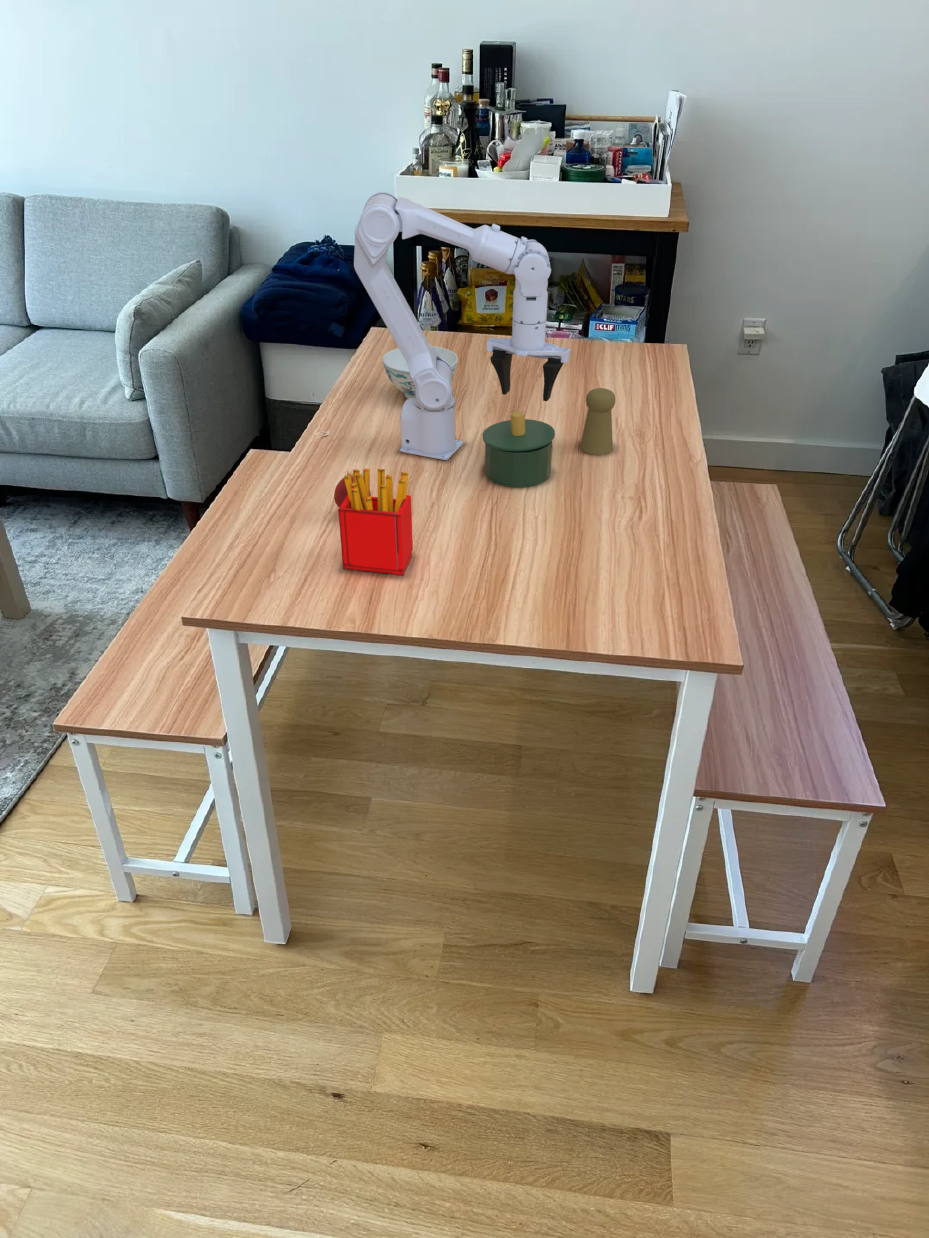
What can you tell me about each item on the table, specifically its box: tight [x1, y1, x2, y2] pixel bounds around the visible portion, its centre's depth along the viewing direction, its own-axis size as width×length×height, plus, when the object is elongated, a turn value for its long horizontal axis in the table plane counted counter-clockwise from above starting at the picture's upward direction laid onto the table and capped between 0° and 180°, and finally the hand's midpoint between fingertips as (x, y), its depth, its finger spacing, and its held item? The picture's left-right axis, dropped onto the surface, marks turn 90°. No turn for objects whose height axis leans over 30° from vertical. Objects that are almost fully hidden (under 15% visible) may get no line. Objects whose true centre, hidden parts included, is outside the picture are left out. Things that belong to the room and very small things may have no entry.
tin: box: [484, 440, 553, 488], centre depth 167 cm, size 11×11×6 cm
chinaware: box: [382, 345, 459, 399], centre depth 194 cm, size 15×15×8 cm
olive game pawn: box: [579, 387, 616, 456], centre depth 173 cm, size 6×6×11 cm
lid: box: [481, 410, 556, 451], centre depth 163 cm, size 12×12×5 cm
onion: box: [333, 470, 372, 509], centre depth 153 cm, size 6×6×8 cm
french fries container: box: [337, 468, 414, 576], centre depth 140 cm, size 7×9×14 cm
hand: (526, 395), depth 170 cm, fingers open, 7 cm apart
